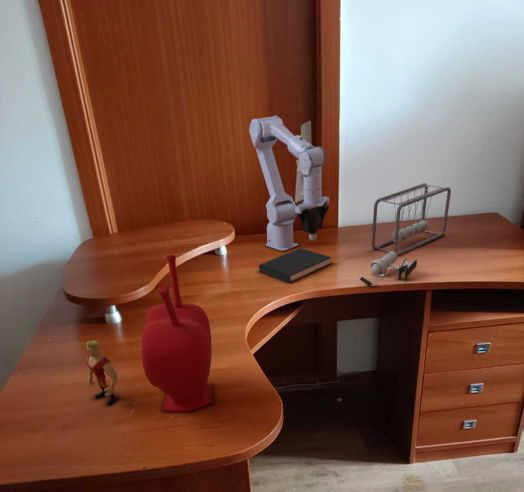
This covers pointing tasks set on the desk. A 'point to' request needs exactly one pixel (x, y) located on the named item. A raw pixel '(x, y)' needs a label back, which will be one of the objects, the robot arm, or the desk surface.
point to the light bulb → (314, 225)
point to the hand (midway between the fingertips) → (312, 229)
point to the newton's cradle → (415, 227)
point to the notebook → (294, 265)
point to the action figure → (100, 370)
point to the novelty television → (178, 349)
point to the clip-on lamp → (382, 264)
